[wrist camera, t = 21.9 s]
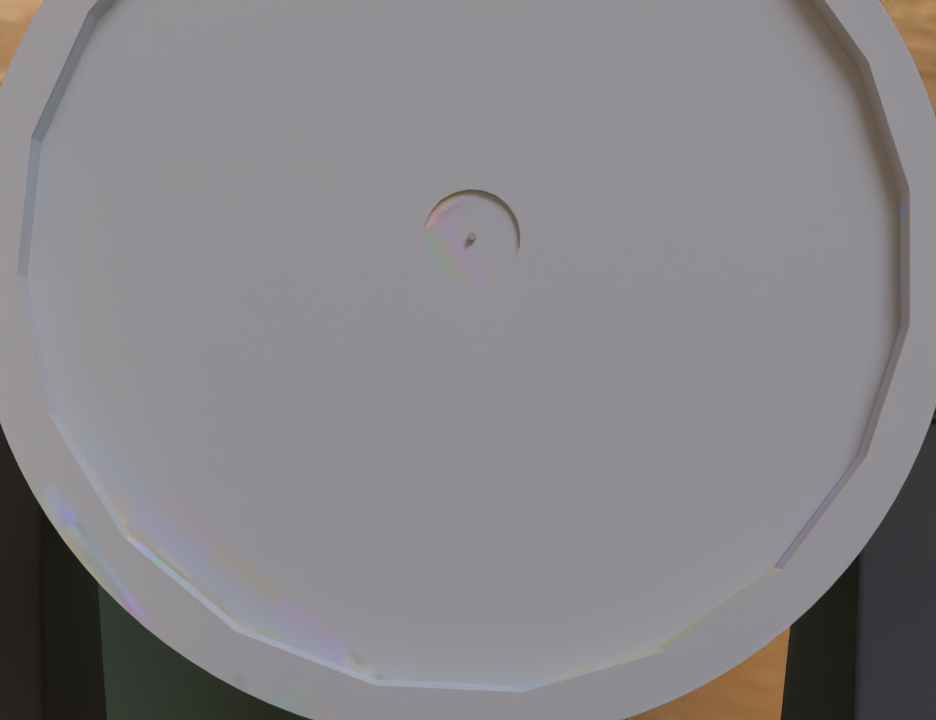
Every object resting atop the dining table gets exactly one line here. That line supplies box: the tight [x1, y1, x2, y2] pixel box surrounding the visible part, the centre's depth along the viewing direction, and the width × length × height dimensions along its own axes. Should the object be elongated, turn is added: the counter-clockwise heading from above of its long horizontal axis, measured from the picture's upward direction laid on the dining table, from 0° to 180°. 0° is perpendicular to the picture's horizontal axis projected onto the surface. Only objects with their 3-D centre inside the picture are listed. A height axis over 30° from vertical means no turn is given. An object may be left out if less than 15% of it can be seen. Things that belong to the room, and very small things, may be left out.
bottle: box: [0, 0, 936, 720], centre depth 13 cm, size 7×7×15 cm
